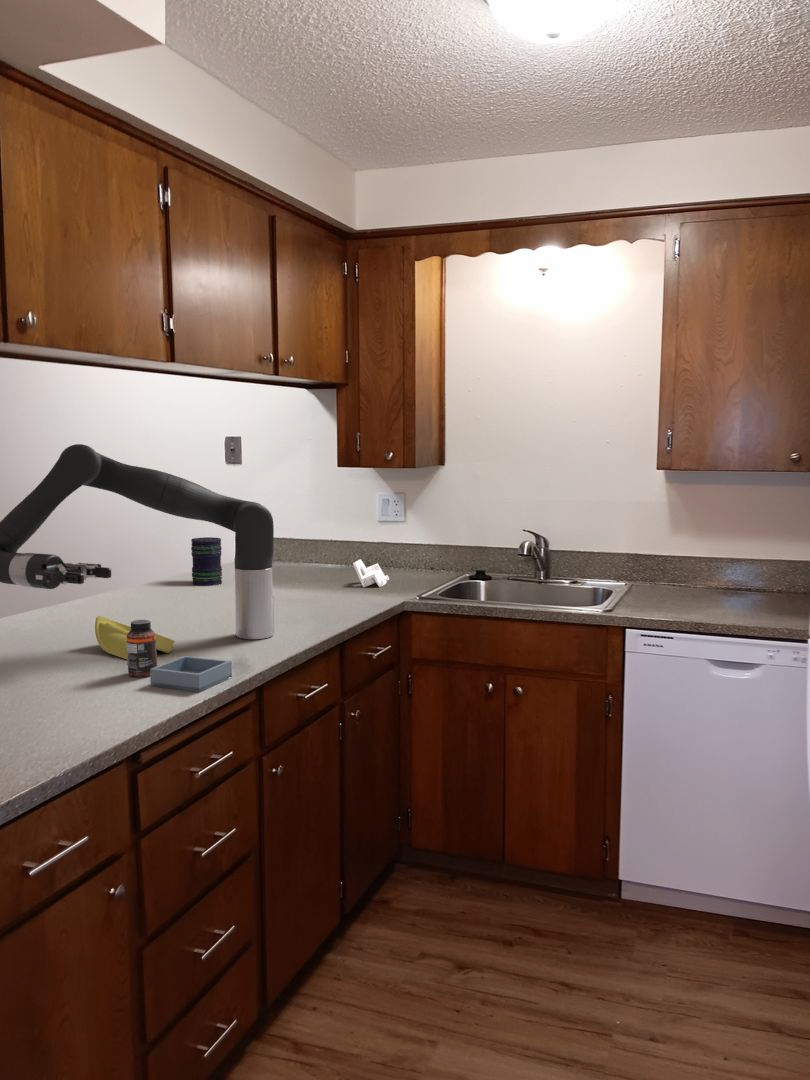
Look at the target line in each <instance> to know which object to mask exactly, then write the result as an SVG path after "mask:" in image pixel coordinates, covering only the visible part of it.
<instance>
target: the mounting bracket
mask: <svg viewBox="0 0 810 1080" xmlns="http://www.w3.org/2000/svg"><path fill="white" fill-rule="evenodd" d="M352 564H353V568H354V570H355V572H356V574H357V576H358V579H359V581H360V583H361V586H362V587H363V588H366V587H368V586H371V585H373V584H375V582H376V585H378V587H379V588H382V587H383V586H385V585H386V584H387V583H388V581H389V580H390V577H389V575H385V574H384V572H383V570H382V568H381V567H380V565H379V563H378V562H377V563H375V564H373V565H370V566H368V567H366V565H365V563H364V562H363V560H362V559H358V560H356V561H355V562H353V563H352ZM373 579H374V580H373ZM374 581H375V582H374Z"/></svg>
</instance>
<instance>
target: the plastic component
mask: <svg viewBox="0 0 810 1080" xmlns="http://www.w3.org/2000/svg"><path fill="white" fill-rule="evenodd" d="M130 630H131V626H129V625H126V624H123V623H120V622H118V621H114V620H112V619H109V618H106V617H104V616H100V615H98V616H96V618H95V624H94V631H95V632H94V633H95V636H96V637H95V638H96V641H97V643H98V645H99V647H100V648H101V649H102V650H103V651H104V652H106V653H108V654H110V655H114V656H116V657H119V658H122V659H125V660H127V661H128V659H127V634H128V632H130ZM155 634H156V651H160V652H162V653H165V654H170V653H171V651H172V650H173V646H174V644H175V640H174V639H171V638H169V637H165V636H162V635H160V634H158V633H155Z"/></svg>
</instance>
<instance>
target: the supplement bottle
mask: <svg viewBox="0 0 810 1080" xmlns="http://www.w3.org/2000/svg"><path fill="white" fill-rule="evenodd" d="M151 626H152V625H151V620H149V619H136V620H135V619H134V620H133V621H130V627H131V630H130V632H128V634H127V659H128V660H127V659H126V660H127V674H128V675H129V676H130V677H133V676H134V677H135V678H146V677H145V676H147V677H150V669H151V668H154V667H157V666H158V653H157V651H158V650H156V634H157V633H156V632H155V631H154V629H153V628H151ZM134 677H133V678H134Z"/></svg>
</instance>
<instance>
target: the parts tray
mask: <svg viewBox="0 0 810 1080" xmlns="http://www.w3.org/2000/svg"><path fill="white" fill-rule="evenodd" d="M232 663H233V662H232V660H225V659H215V658H207V657H199V656H189V655H183V656H180V657H178V658H175V659H173V660H169V661H167V662H165V663H162V664H160V665H157V667H154V668H151V669H150V676H149V679H150V680H149V681H150V687H154V686H156V687H157V688H162V687H163V689H171V690H177V689H178V691H185V692H186V691H187V692H192V693H194V692H195V693H201V692H203V691H206V690H208V689H210V688H212V687H215V686H217V685H219V684H221V683H223V682H225V681H224V680H226V679H228V678H229V677H232V678H233V674H232V673H233V671H232V670H233V668H232V667H233V665H232ZM228 680H229V679H228ZM222 681H223V682H222ZM226 681H227V680H226ZM220 682H221V683H220ZM218 683H219V684H218ZM216 684H217V685H216ZM214 685H215V686H214Z"/></svg>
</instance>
